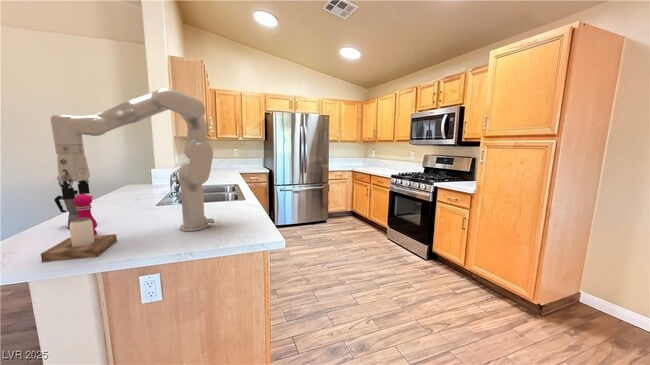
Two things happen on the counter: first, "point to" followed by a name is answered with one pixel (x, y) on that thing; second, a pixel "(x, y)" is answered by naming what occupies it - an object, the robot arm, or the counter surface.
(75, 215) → the coffeepot
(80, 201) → the pepper mill
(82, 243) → the can
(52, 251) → the socket board
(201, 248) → the counter surface
